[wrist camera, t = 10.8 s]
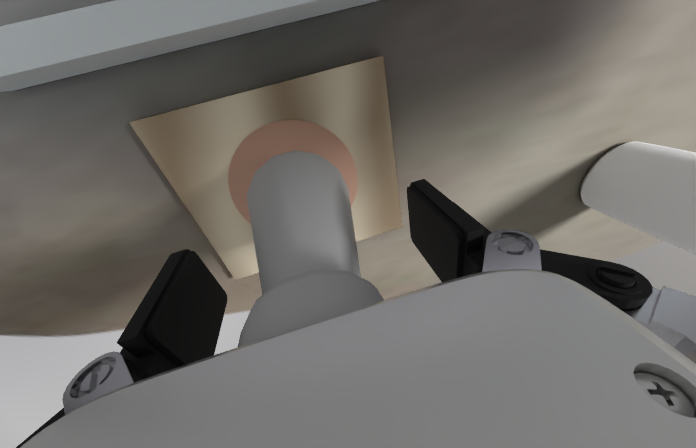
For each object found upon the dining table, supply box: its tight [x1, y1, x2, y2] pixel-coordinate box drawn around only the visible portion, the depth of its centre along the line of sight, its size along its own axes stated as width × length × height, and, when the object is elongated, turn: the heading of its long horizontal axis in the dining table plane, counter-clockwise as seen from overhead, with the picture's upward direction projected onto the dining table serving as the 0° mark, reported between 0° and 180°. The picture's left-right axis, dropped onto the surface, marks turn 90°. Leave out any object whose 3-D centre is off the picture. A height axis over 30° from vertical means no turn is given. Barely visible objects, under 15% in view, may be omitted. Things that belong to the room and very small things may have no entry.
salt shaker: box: [238, 150, 384, 347], centre depth 11 cm, size 6×6×13 cm
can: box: [580, 141, 696, 255], centre depth 19 cm, size 6×6×12 cm
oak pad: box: [129, 56, 402, 280], centre depth 17 cm, size 14×12×1 cm
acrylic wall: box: [0, 0, 380, 92], centre depth 11 cm, size 22×1×4 cm, turn 102°
